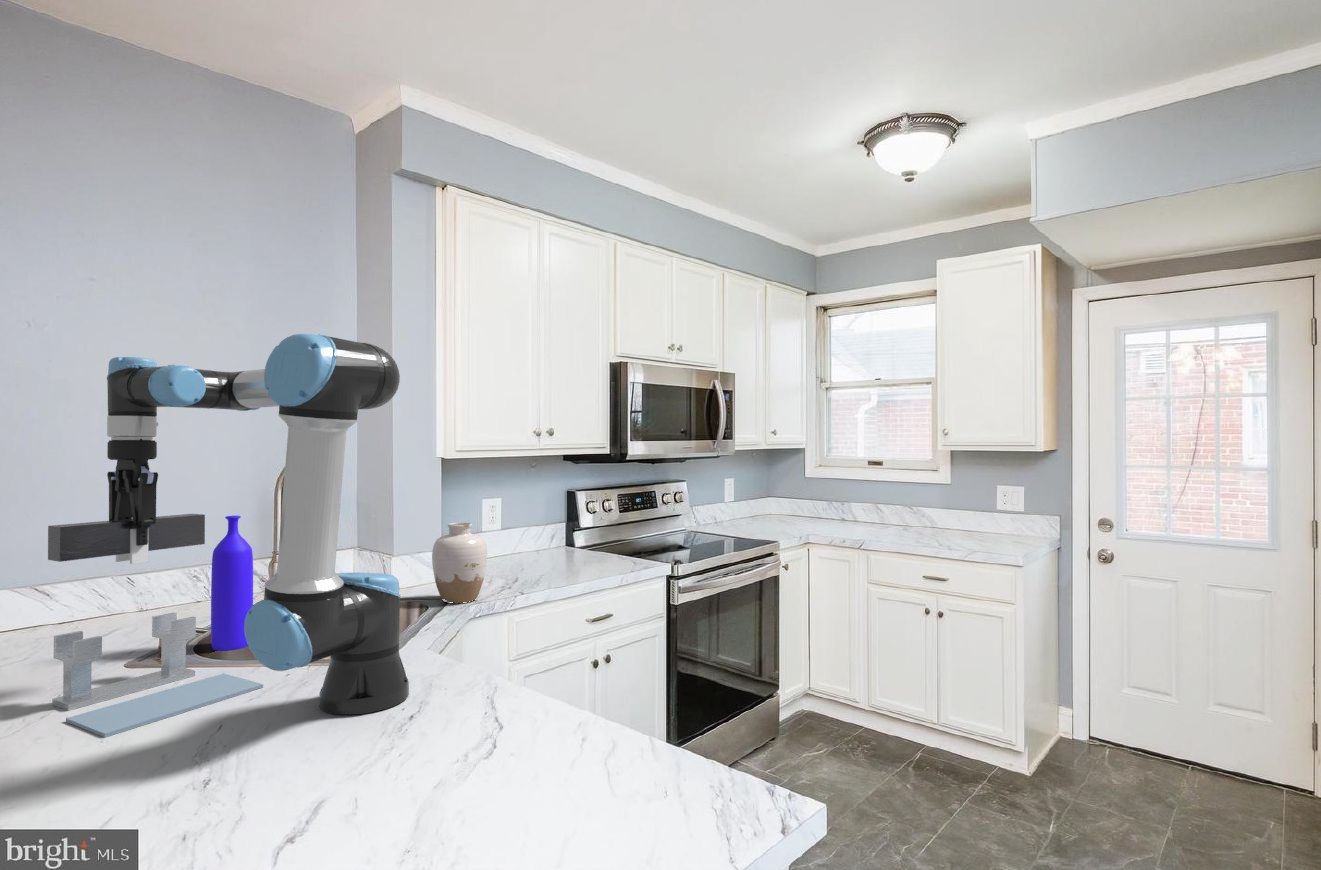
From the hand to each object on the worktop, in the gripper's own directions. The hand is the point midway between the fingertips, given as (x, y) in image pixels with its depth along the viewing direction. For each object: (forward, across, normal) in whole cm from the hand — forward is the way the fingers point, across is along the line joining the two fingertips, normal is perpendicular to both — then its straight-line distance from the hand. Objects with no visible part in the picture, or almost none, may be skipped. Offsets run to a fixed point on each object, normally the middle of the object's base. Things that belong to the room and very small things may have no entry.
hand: (131, 561), depth 133 cm
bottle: (+24, +12, -26) cm, 38 cm away
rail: (-2, 0, 0) cm, 2 cm away
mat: (+24, -14, 0) cm, 28 cm away
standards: (+24, +1, 0) cm, 24 cm away
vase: (+25, 0, -86) cm, 89 cm away
